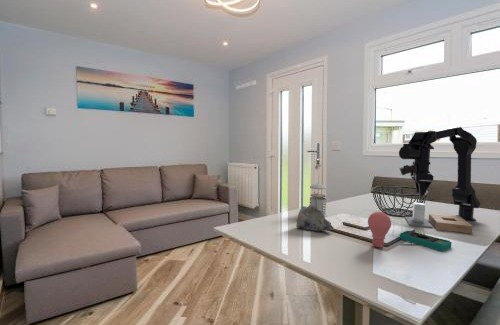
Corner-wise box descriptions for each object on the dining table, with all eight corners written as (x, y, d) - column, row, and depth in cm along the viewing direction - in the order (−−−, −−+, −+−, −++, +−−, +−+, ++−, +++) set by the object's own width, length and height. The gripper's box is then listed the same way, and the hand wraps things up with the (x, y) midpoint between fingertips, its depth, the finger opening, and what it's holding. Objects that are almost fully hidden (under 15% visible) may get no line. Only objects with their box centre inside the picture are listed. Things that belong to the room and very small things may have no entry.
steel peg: (412, 219, 126) (413, 202, 126) (422, 220, 125) (423, 203, 124) (413, 221, 123) (414, 204, 122) (424, 223, 121) (425, 205, 120)
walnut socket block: (428, 219, 129) (429, 213, 129) (459, 223, 124) (460, 216, 124) (436, 229, 114) (436, 222, 114) (472, 233, 109) (472, 226, 109)
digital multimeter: (407, 236, 106) (407, 229, 106) (452, 249, 94) (452, 240, 93) (397, 239, 102) (397, 232, 102) (442, 253, 90) (443, 244, 89)
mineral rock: (334, 233, 106) (335, 208, 106) (312, 237, 102) (313, 210, 101) (314, 224, 118) (315, 201, 117) (293, 227, 114) (293, 203, 113)
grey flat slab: (405, 217, 132) (405, 216, 132) (426, 219, 128) (426, 218, 128) (409, 225, 119) (409, 224, 119) (432, 228, 116) (432, 226, 116)
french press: (329, 213, 137) (331, 163, 135) (325, 219, 126) (327, 165, 124) (309, 211, 141) (311, 162, 139) (303, 216, 130) (305, 164, 129)
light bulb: (384, 243, 96) (386, 210, 95) (393, 251, 89) (395, 215, 88) (363, 242, 97) (365, 209, 96) (370, 250, 90) (372, 214, 89)
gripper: (399, 157, 133) (397, 189, 135) (403, 159, 116) (401, 196, 117) (426, 158, 129) (423, 191, 130) (434, 160, 112) (432, 198, 113)
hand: (419, 194), depth 123 cm, fingers open, 9 cm apart
